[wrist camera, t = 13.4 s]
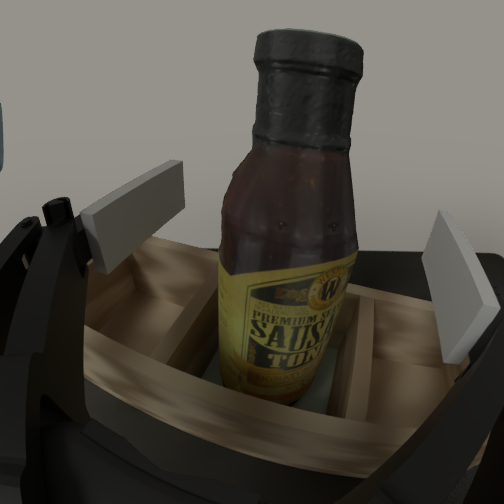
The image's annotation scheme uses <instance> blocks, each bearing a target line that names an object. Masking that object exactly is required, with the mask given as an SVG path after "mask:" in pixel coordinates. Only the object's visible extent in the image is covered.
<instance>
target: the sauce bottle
mask: <svg viewBox="0 0 504 504" xmlns="http://www.w3.org/2000/svg"><path fill="white" fill-rule="evenodd" d="M363 55H364V52H363V49H362V48H361V46H360V45H359V44H358V43H356V42H355V41H353V40H351V39H348V38H346V37H343V36H339V35H335V34H331V33H324V32H318V31H313V30H304V29H291V28H287V29H275V30H268V31H265V32H262V33H260V34H259V35H258V36H257V42H256V47H255V53H254V59H253V60H254V63H255V65H256V68H257V70H258V72H259V82H258V96H257V104H256V120H255V124H254V125H253V130H252V137H253V146H252V150H251V151H250V152H249V153H248V154H247V156H246V157H245V159H244V160H243V161H242V162H241V163H240V165H239V166H238V167H237V169H236V170H235V171H234V172H233V174H232V176H233V178H232V180H231V182H230V185H229V187H228V190H227V192H226V194H225V196H224V200H223V207H222V210H221V214H222V226H221V229H222V240H221V244H220V247H219V251H218V310H219V369H220V375H221V377H222V383H223V387H225V388H228V389H231V390H234V391H237V392H240V393H243V394H246V395H250V396H253V397H256V398H260V399H263V400H267V401H270V402H274V403H277V404H281V405H285V406H289V407H292V406H294V404H295V403H296V402H297V401H298V400H299V399H301V397H302V396H303V395H304V394H305V393H306V392H307V391H308V389H309V388H310V386H311V384H312V382H313V379H314V377H315V375H316V372H317V370H318V367H319V365H320V362H321V360H322V357H323V354H324V352H325V349H326V346H327V343H328V341H329V339H330V336H331V334H332V331H333V329H334V324H335V322H336V319H337V316H338V313H339V310H340V307H341V305H342V301H343V298H344V295H345V292H346V288H347V285H348V282H349V279H350V276H351V273H352V270H353V267H354V263H355V259H356V256H357V252H358V249H359V247H358V240H357V233H356V224H355V223H356V222H355V209H354V199H353V188H352V178H351V168H350V160H349V150H350V147H351V138H350V131H351V125H352V124H351V123H352V115H353V108H354V99H355V92H356V88H357V85H358V83H359V81H360V80H361V78H362V76H363Z"/></svg>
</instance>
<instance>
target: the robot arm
mask: <svg viewBox="0 0 504 504" xmlns="http://www.w3.org/2000/svg"><path fill="white" fill-rule="evenodd" d="M2 167H3V122H2V108H1V103H0V172H1V170H2ZM184 208H185V198H184V181H183V161H178V160H177V161H176V160H169V161H168V162H166V163H164V164H162V165H160V166H158V167H156V168H154V169H152V170H150V171H148V172H147V173H145V174H143V175H141V176H139V177H138V178H136V179H134V180H132V181H130V182H129V183H127V184H125V185H124V186H122V187H120V188H118V189H116V190H115V191H113V192H111V193H110V194H108V195H106V196H105V197H103V198H102V199H100V200H98V201H97V202H95V203H94V204H92V205H90V206H89V207H87V208H86V209H84V210H83V211H81V212H80V215H78V216H77V217H75V218H74V215H73V211H72V207H71V203H70V199H69V198H68V197H61V198H56V199H53V200H51V201H49V202H47V203H46V204H44V206H43V207H42V210H43V213H44V217H45V220H46V224H47V226H43V227H41V224H40V220H39V218H38V217H36V216H33V217H27V218H25V219H23V220H22V221H21V222H19V224H17V225H16V226H15V228H14V229H13V230H12V231H11V232H10V233H9V234H8V235H7V237H6V238H5V239H4V240H3V241H2V242H1V244H0V504H266V503H264V502H263V501H261V500H259V498H260V496H261V494H257V493H253V492H250V491H246V490H243V489H240V488H236V487H233V486H230V485H227V484H224V483H221V482H219V481H216V480H213V479H206V478H199V477H193V476H187V475H182V474H177V473H172V472H167V471H163V470H161V469H159V468H158V467H156V466H155V465H154V464H153V463H151V462H150V461H149V460H148V459H147V458H146V457H145V456H143V455H142V454H141V453H140V452H139V451H138V450H137V449H136V448H135V447H134V446H132V445H131V444H130V443H129V442H128V441H127V440H126V439H125V438H124V437H122V436H120V435H118V434H117V433H115V432H113V431H112V430H110V429H109V428H107V427H105V426H104V425H102V424H101V423H99V422H98V421H96V420H95V419H93V418H90V416H89V413H88V411H87V409H86V405H85V394H84V324H85V308H86V295H87V285H88V276H89V267H88V264H87V263H88V262H89V261H90V260H91V259H93V263H94V266H95V269H96V270H97V271H99V272H102V273H105V274H107V275H108V274H109V273H111V272H112V271H113V270H114V269H115V268H116V267H117V266H118V265H119V264H120V263H121V262H122V261H123V260H125V259H126V258H127V257H128V256H129V255H130V254H131V253H132V252H133V251H135V250H136V249H137V248H138V247H139V246H140V245H141V244H142V243H144V242H145V241H146V240H147V239H148V238H149V237H150V236H152V235H153V234H154V233H155V232H156V231H157V230H158V229H160V228H161V227H162V226H163V225H164V224H165V223H167V222H168V221H169V220H170V219H172V218H173V217H174V216H175V215H176V214H177V213H179V212H180V211H181V210H182V209H184ZM23 254H24V255H25V258H26V260H27V263H28V265H29V267H28V269H27V270H26V268H25V267H24V264H23V262H22V257H23ZM422 262H423V265H424V269H425V273H426V277H427V280H428V284H429V289H430V293H431V297H432V302H433V306H434V311H435V316H436V321H437V327H438V332H439V338H440V345H441V351H442V359H443V363H450V364H457V365H460V363H461V362H462V361H463V360H464V359H465V357H466V356H467V355H468V354H469V359H470V363H469V365H468V366H467V367H466V368H465V369H464V370H463V371H462V373H461V374H460V375H459V376H458V377H457V378H456V379H455V380H454V382H455V384H454V385H453V386H452V388H451V389H450V390H449V392H448V393H447V394H446V396H445V397H444V398H443V399H442V401H441V402H440V403H439V405H438V406H437V407H436V408H435V409H434V411H433V412H432V413H431V414H430V415H429V417H428V418H427V419H426V420H425V421H424V422H423V424H422V425H421V426H420V427H419V428H418V429H417V430H416V431H415V432H414V433H413V435H412V436H411V437H410V438H409V439H408V440H407V441H406V442H405V443H404V444H403V445H402V446H401V447H400V448H399V449H398V450H397V451H396V452H395V453H394V454H393V455H392V456H391V457H390V458H389V459H388V460H387V461H385V462H384V463H383V464H382V465H381V466H380V467H379V468H378V469H377V470H375V471H374V472H373V473H372V474H371V475H370V476H369V477H367V478H366V479H365V480H364V481H363V482H361V483H360V484H359V485H358V486H356V487H355V488H354V489H353V490H351V491H350V492H349V493H347V494H346V495H345V496H343V497H342V498H341V499H339V500H338V501H336V502H335V503H333V504H441V503H442V502H443V501H444V500H445V499H446V497H447V496H448V495H449V494H450V492H451V491H452V490H453V488H454V487H455V486H456V484H457V483H458V482H459V480H460V479H461V478H462V476H463V475H464V473H465V472H466V470H467V469H468V467H469V466H470V464H471V463H472V461H473V460H474V458H475V457H476V455H477V454H478V452H479V450H480V449H481V447H482V445H483V444H484V442H485V440H486V439H487V437H488V435H489V433H490V435H489V439H488V442H487V445H486V448H485V451H484V453H483V456H482V459H481V462H480V464H479V467H478V469H477V472H476V474H475V477H474V479H473V482H472V484H471V486H470V488H469V490H468V493H467V495H466V497H465V499H464V501H463V503H462V504H504V303H503V300H502V298H501V296H500V294H499V291H498V289H497V287H496V285H495V283H494V281H493V279H492V278H491V277H490V275H489V274H488V273H487V272H486V271H485V270H483V268H482V266H481V264H480V262H479V260H478V258H477V256H476V254H475V253H474V251H473V249H472V247H471V245H470V243H469V242H468V240H467V238H466V236H465V235H464V233H463V231H462V230H461V228H460V227H459V225H458V223H457V221H456V220H455V218H454V217H453V215H452V214H451V213H447V212H444V211H441V210H439V211H438V214H437V217H436V220H435V223H434V226H433V229H432V232H431V235H430V237H429V240H428V242H427V245H426V248H425V250H424V253H423V255H422ZM490 431H491V432H490Z"/></svg>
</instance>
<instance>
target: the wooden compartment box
mask: <svg viewBox="0 0 504 504" xmlns="http://www.w3.org/2000/svg"><path fill="white" fill-rule="evenodd" d="M87 264H88V267H89V276H88V285H87V295H86V308H85V324H84V377H85V378H86V379H88V380H89V381H91V382H92V383H94V384H96V385H97V386H99V387H100V388H102V389H104V390H105V391H107V392H109V393H110V394H112V395H114V396H115V397H117V398H119V399H121V400H122V401H124V402H126V403H128V404H130V405H131V406H133V407H135V408H137V409H139V410H141V411H143V412H145V413H147V414H149V415H151V416H153V417H155V418H157V419H159V420H161V421H163V422H165V423H167V424H169V425H171V426H174V427H176V428H178V429H180V430H183V431H185V432H187V433H190V434H192V435H195V436H197V437H200V438H202V439H205V440H207V441H210V442H212V443H215V444H218V445H221V446H223V447H226V448H229V449H232V450H235V451H238V452H241V453H244V454H248V455H251V456H254V457H258V458H261V459H265V460H268V461H272V462H276V463H280V464H284V465H288V466H292V467H297V468H301V469H306V470H311V471H317V472H322V473H328V474H334V475H341V476H349V477H357V478H367V477H369V476H370V475H371V474H372V473H373V472H374V471H375V470H377V469H378V468H379V467H380V466H381V465H382V464H383V463H384V462H385V461H387V460H388V459H389V458H390V457H391V456H392V455H393V454H394V453H395V452H396V451H397V450H398V449H399V448H400V447H401V446H402V445H403V444H404V443H405V442H406V441H407V440H408V439H409V438H410V437H411V436H412V435H413V433H414V432H415V431H416V430H417V429H418V428H419V427H420V426H421V425H422V424H423V422H424V421H425V420H426V419H427V418H428V417H429V415H430V414H431V413H432V412H433V411H434V409H435V408H436V407H437V406H438V405H439V403H440V402H441V401H442V399H443V398H444V397H445V396H446V394H447V393H448V392H449V390H450V389H451V388H452V386H453V385H454V384H455V382H454V380H455V379H456V378H457V377H458V376H459V375H460V374H461V373H462V371H463V370H464V369H465V368H466V367H467V366H468V365H469V363H470V359H469V354H468V355H467V356H466V357H465V359H464V360H463V361H462V362H461V363H460V365H457V364H450V363H443V359H442V351H441V345H440V338H439V332H438V327H437V321H436V316H435V311H434V306H433V302H430V301H425V300H421V299H416V298H412V297H407V296H403V295H398V294H394V293H390V292H385V291H381V290H376V289H372V288H368V287H363V286H359V285H355V284H350V283H348V285H347V288H346V292H345V295H344V298H343V301H342V305H341V307H340V310H339V313H338V316H337V319H336V322H335V324H334V329H333V331H332V334H331V336H330V339H329V341H328V343H327V346H326V349H325V352H324V354H323V357H322V360H321V362H320V365H319V367H318V370H317V372H316V375H315V377H314V379H313V382H312V384H311V386H310V388H309V389H308V391H307V392H306V393H305V394H304V395H303V396H302V397H301V399H299V400H298V401H297V402H296V403H295V404H294V406H292V407H289V406H285V405H281V404H277V403H274V402H270V401H267V400H263V399H260V398H256V397H253V396H250V395H246V394H243V393H240V392H237V391H234V390H231V389H228V388H225V387H223V383H222V377H221V375H220V369H219V310H218V252H215V251H211V250H206V249H202V248H198V247H194V246H190V245H185V244H182V243H178V242H174V241H169V240H165V239H161V238H157V237H153V236H150V237H149V238H148V239H147V240H146V241H145V242H144V243H142V244H141V245H140V246H139V247H138V248H137V249H136V250H135V251H133V252H132V253H131V254H130V255H129V256H128V257H127V258H126V259H125V260H123V261H122V262H121V263H120V264H119V265H118V266H117V267H116V268H115V269H114V270H113V271H112V272H111V273H109V274H108V275H107V274H105V273H102V272H99V271H97V270H96V269H95V266H94V263H93V259H91V260H90V261H89V262H88V263H87ZM490 432H491V431H490ZM489 435H490V433H489ZM489 435H488V437H487V439H486V440H485V442H484V444H483V445H482V447H481V449H480V450H479V452H478V454H477V455H476V457H475V458H474V460H473V461H472V463H471V464H470V466H469V467H468V469H470V468H472V467H474V466H475V465H477V464H479V463H480V462H481V459H482V456H483V453H484V451H485V448H486V445H487V442H488V439H489ZM468 469H467V470H468Z"/></svg>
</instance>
